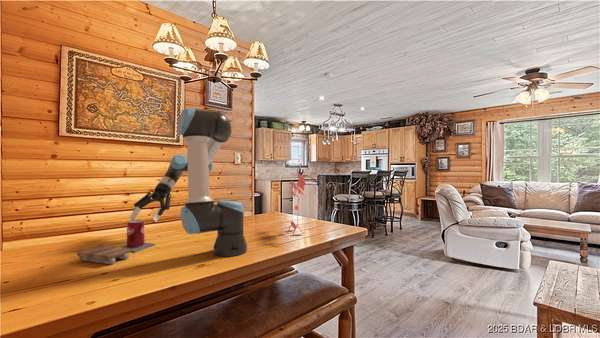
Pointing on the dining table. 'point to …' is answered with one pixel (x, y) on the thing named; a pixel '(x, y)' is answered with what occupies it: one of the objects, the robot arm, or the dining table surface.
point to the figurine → (300, 186)
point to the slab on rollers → (104, 254)
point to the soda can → (135, 233)
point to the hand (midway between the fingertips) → (142, 219)
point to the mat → (139, 247)
